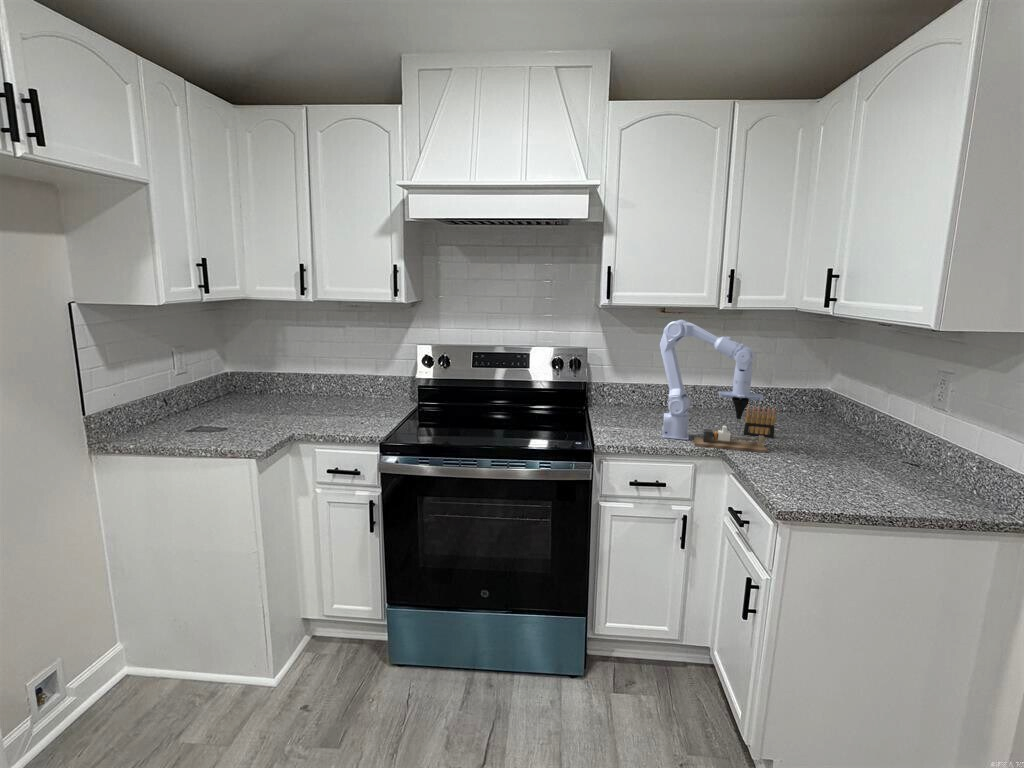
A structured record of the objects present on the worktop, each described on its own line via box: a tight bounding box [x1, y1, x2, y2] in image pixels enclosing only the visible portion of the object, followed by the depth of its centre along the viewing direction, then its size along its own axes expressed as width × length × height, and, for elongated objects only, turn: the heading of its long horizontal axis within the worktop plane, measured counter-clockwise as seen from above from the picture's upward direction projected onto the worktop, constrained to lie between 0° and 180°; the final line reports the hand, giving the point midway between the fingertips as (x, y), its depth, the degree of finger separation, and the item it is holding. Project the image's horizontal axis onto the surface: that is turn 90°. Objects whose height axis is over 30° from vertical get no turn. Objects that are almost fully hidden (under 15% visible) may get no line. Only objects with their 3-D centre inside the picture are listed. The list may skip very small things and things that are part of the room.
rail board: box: [693, 428, 768, 454], centre depth 200 cm, size 24×9×5 cm, turn 74°
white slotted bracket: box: [717, 425, 731, 441], centre depth 200 cm, size 4×3×5 cm
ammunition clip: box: [743, 404, 776, 439], centre depth 212 cm, size 11×2×12 cm, turn 70°
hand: (738, 418), depth 198 cm, fingers closed
